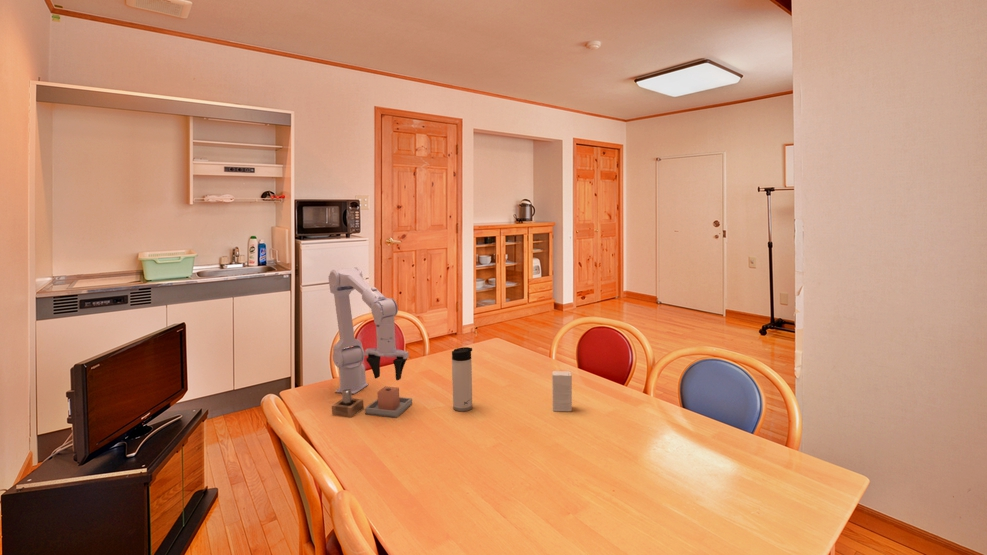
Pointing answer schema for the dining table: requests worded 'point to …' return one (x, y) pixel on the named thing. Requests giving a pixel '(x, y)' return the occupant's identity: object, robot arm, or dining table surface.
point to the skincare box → (562, 390)
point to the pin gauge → (347, 397)
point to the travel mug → (462, 379)
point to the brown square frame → (347, 408)
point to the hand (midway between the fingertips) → (387, 378)
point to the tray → (374, 410)
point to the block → (388, 398)
